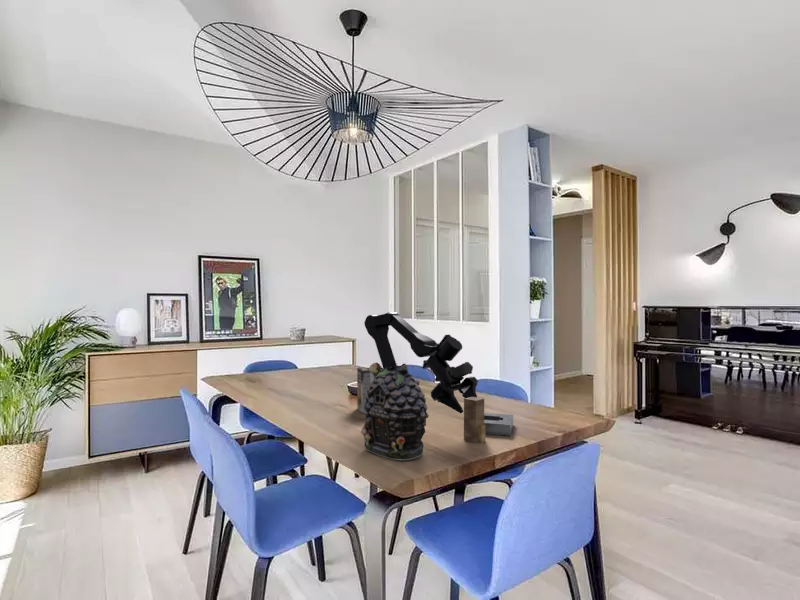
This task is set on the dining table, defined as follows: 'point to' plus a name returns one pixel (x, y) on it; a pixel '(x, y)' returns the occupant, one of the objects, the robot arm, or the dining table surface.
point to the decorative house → (394, 413)
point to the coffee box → (362, 387)
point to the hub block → (498, 424)
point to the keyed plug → (474, 419)
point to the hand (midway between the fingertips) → (470, 409)
